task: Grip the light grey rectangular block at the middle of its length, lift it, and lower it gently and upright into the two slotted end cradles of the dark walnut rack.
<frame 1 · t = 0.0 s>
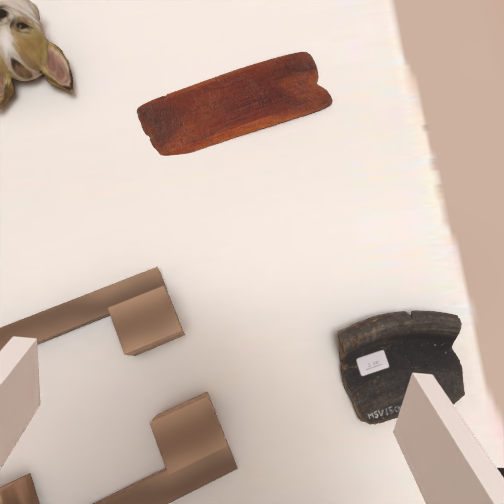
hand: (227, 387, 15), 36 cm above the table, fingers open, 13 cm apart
rack: (85, 412, 47), on the table
wooden tablet: (235, 106, 60), on the table
pottery fragment: (393, 365, 53), on the table
ceramic sculpture: (28, 65, 58), on the table
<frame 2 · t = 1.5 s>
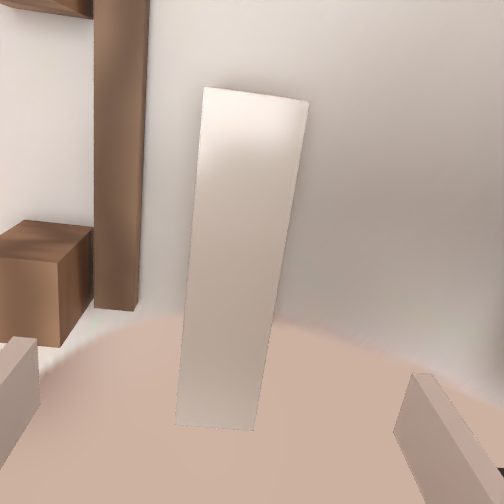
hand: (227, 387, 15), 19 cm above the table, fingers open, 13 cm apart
light grey rectangular block: (233, 229, 33), on the table
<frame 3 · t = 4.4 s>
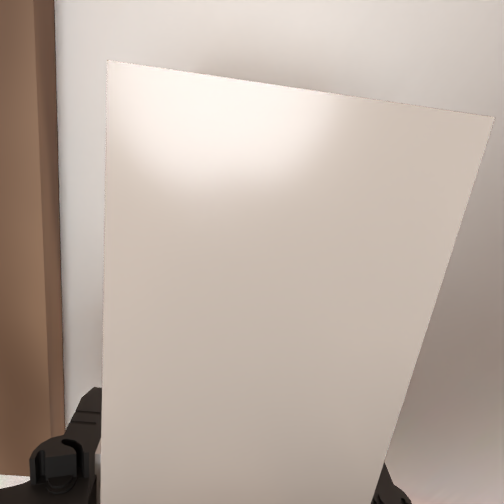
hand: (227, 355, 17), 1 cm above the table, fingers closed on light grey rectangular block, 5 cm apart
light grey rectangular block: (228, 337, 18), on the table, touching gripper
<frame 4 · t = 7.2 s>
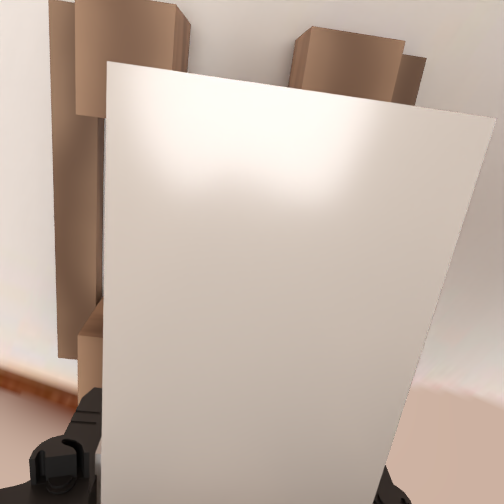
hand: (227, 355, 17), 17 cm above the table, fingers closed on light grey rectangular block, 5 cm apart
rack: (221, 219, 33), on the table
light grey rectangular block: (228, 337, 18), point 16 cm above the table, touching gripper
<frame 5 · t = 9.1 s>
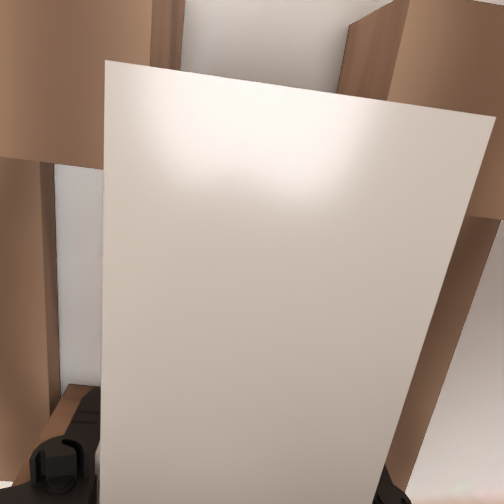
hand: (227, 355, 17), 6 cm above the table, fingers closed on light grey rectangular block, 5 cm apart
rack: (232, 289, 23), on the table
light grey rectangular block: (228, 337, 18), point 5 cm above the table, touching gripper
when the fingers open (3 cm above the table, at t = 10.4 s): light grey rectangular block drops 2 cm, on the table.
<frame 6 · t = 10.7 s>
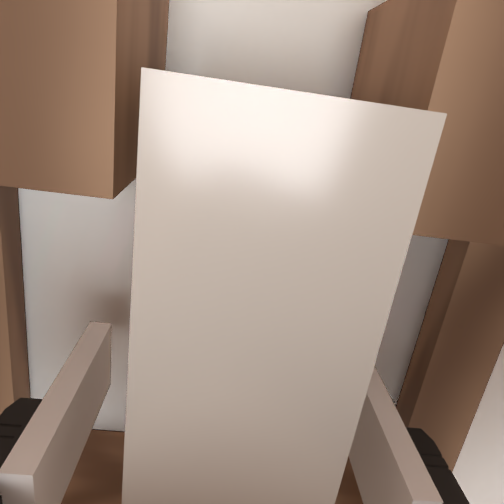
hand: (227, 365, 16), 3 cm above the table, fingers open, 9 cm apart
rack: (228, 319, 20), on the table
light grey rectangular block: (229, 318, 20), on the table
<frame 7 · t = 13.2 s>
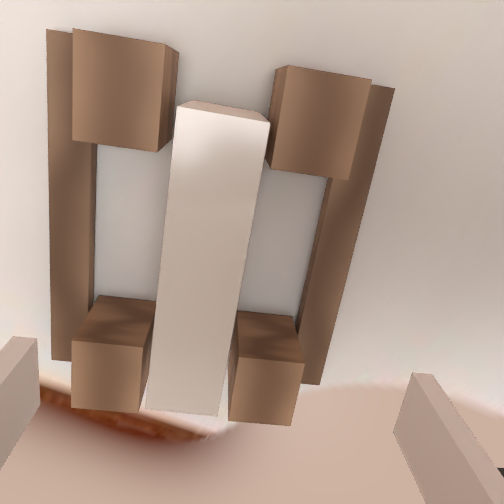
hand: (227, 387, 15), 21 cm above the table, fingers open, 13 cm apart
rack: (207, 231, 35), on the table
light grey rectangular block: (207, 231, 35), on the table
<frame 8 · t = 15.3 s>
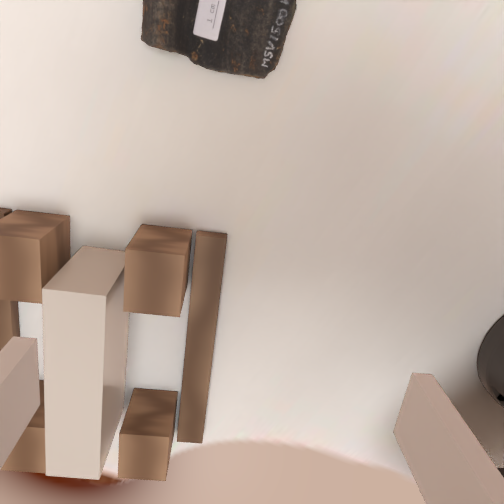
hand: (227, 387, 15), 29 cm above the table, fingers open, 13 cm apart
rack: (104, 333, 47), on the table
light grey rectangular block: (105, 332, 47), on the table
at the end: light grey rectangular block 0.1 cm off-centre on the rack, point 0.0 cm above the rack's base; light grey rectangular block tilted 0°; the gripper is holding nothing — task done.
